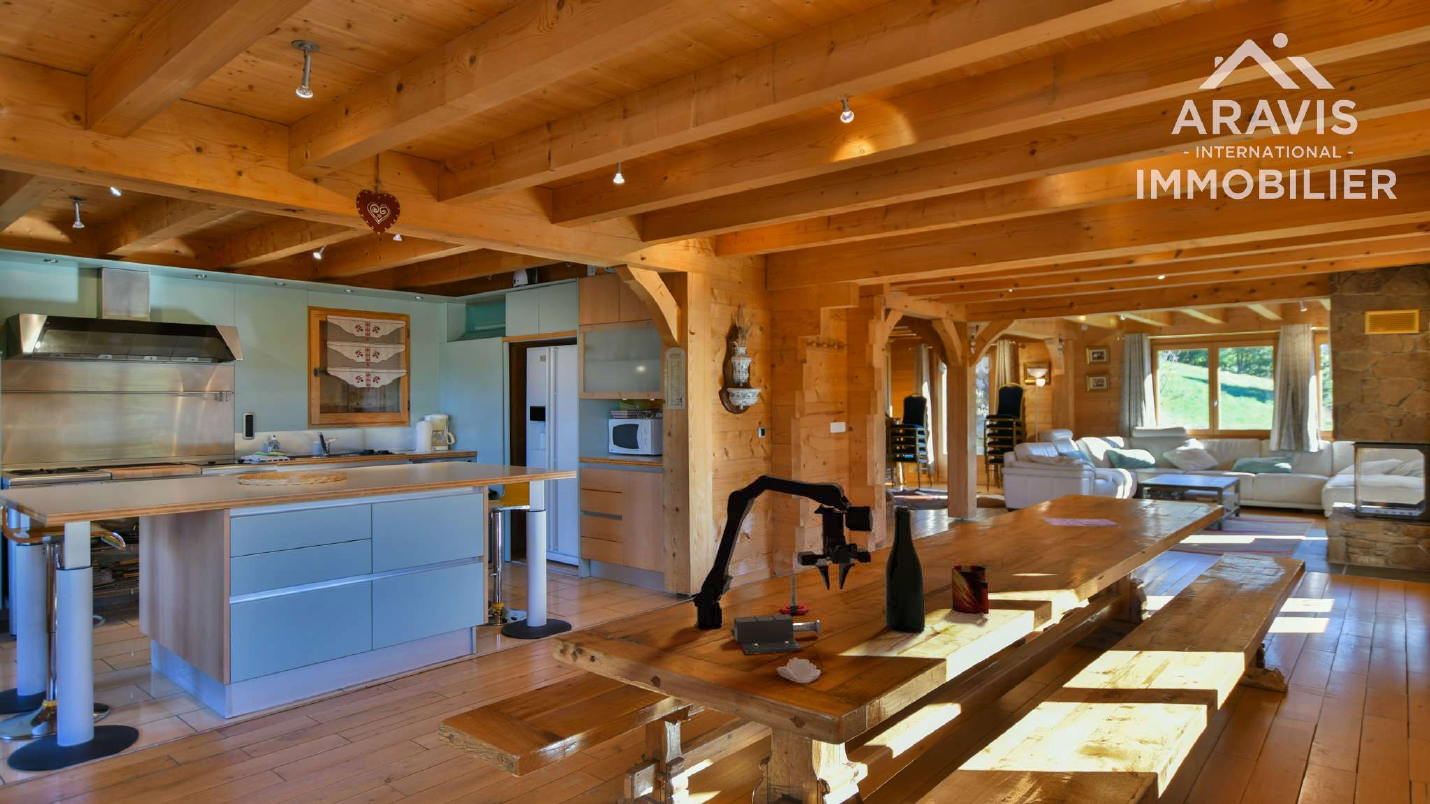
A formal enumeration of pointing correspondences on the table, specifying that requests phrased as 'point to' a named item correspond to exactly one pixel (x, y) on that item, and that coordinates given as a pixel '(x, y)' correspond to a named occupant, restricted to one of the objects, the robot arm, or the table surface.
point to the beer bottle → (904, 579)
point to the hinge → (765, 634)
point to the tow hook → (794, 601)
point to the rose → (799, 671)
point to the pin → (807, 627)
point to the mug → (970, 589)
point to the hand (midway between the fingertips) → (834, 589)
